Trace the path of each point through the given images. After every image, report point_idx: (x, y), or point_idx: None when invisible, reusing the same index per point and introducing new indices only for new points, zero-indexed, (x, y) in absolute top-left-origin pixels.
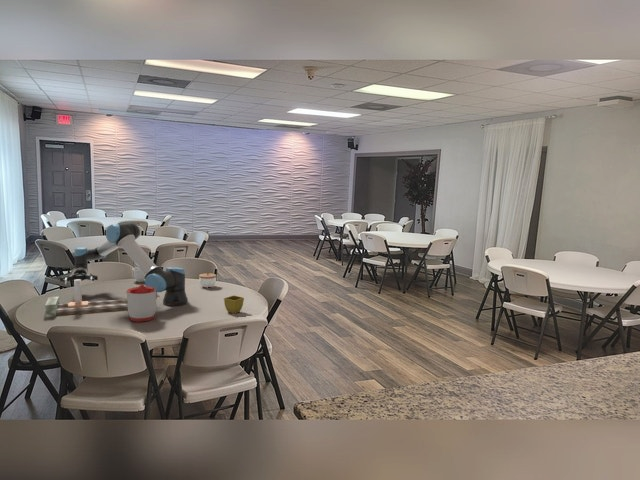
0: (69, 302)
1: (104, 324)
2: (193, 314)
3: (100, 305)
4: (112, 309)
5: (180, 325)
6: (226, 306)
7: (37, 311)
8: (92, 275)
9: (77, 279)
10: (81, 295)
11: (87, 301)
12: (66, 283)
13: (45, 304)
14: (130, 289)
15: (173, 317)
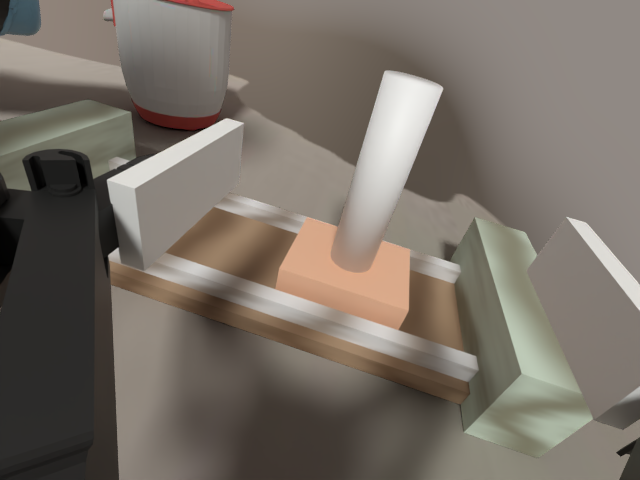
0: (405, 304)
1: (294, 144)
2: (26, 71)
3: (211, 253)
4: None
5: None
6: None
7: (592, 423)
8: (88, 158)
9: (416, 84)
10: (345, 202)
11: (288, 260)
12: (542, 301)
13: (528, 240)
14: (198, 7)
15: (98, 88)
